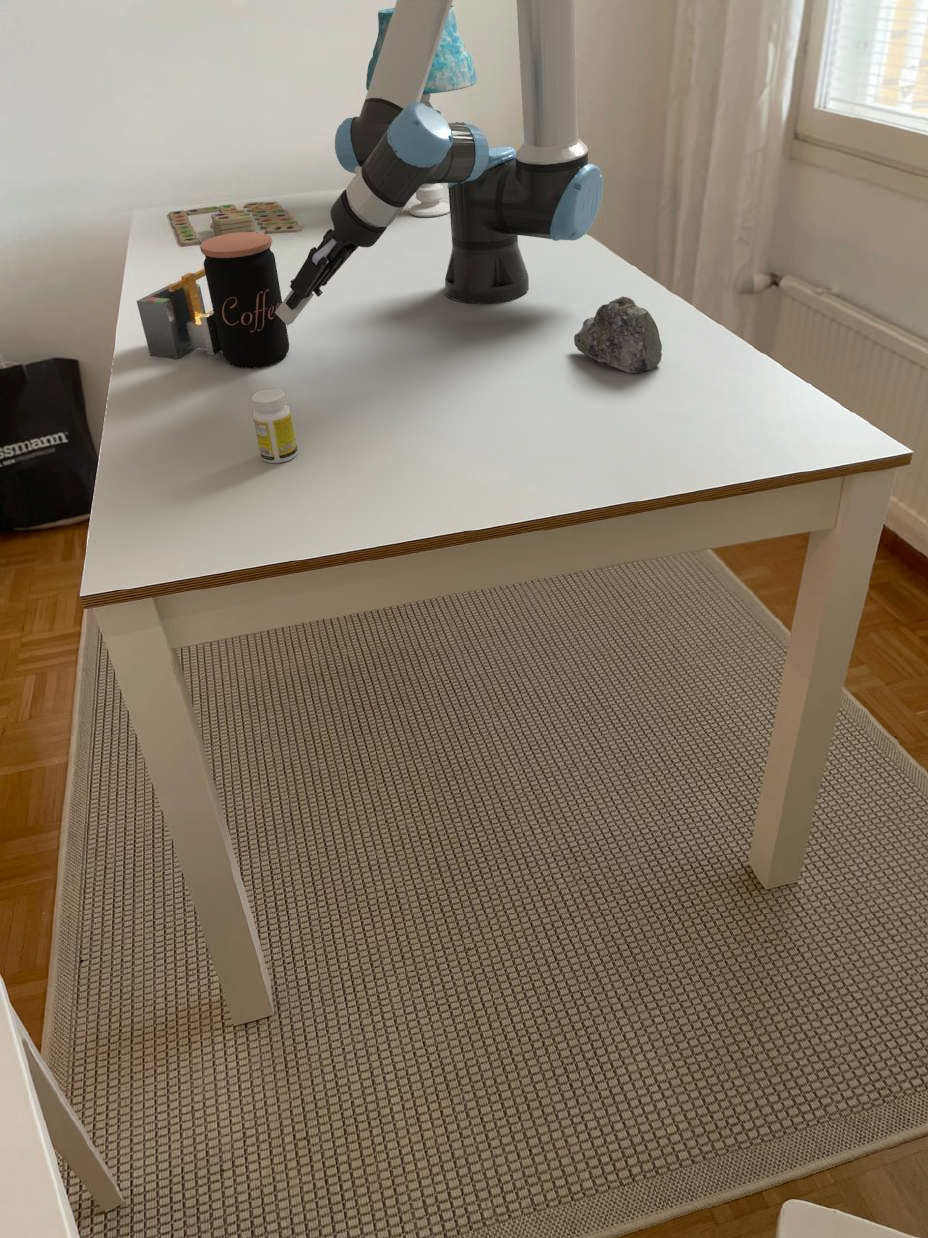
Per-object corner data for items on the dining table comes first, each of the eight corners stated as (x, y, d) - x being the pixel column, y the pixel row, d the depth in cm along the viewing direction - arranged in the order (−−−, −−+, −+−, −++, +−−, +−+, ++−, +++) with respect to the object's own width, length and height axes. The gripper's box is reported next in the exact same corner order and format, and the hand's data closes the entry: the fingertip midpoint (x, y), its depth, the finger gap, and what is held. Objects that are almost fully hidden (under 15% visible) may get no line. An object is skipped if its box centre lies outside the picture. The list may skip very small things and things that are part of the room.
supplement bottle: (299, 446, 130) (289, 386, 125) (296, 462, 126) (285, 401, 121) (263, 449, 130) (251, 389, 125) (258, 465, 126) (246, 404, 121)
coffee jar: (226, 374, 152) (201, 255, 141) (221, 350, 160) (198, 236, 150) (294, 363, 154) (275, 245, 143) (286, 341, 162) (267, 228, 152)
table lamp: (369, 207, 233) (347, 9, 209) (464, 194, 238) (454, 0, 214) (393, 231, 214) (373, 17, 191) (496, 216, 219) (489, 6, 196)
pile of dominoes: (306, 234, 219) (302, 208, 216) (183, 252, 212) (178, 225, 209) (277, 201, 246) (273, 178, 242) (167, 216, 239) (162, 192, 236)
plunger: (245, 336, 162) (232, 268, 155) (211, 356, 155) (196, 286, 149) (216, 332, 164) (202, 265, 157) (182, 352, 157) (166, 283, 151)
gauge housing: (211, 339, 165) (199, 284, 159) (178, 359, 158) (164, 301, 153) (184, 336, 167) (171, 281, 162) (150, 355, 160) (135, 299, 155)
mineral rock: (570, 350, 152) (571, 285, 146) (636, 341, 154) (639, 276, 148) (597, 381, 142) (599, 312, 136) (667, 371, 143) (672, 303, 137)
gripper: (370, 175, 139) (288, 285, 155) (323, 197, 129) (242, 312, 145) (406, 216, 140) (322, 321, 156) (363, 241, 131) (278, 350, 146)
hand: (283, 317), depth 150 cm, fingers closed
